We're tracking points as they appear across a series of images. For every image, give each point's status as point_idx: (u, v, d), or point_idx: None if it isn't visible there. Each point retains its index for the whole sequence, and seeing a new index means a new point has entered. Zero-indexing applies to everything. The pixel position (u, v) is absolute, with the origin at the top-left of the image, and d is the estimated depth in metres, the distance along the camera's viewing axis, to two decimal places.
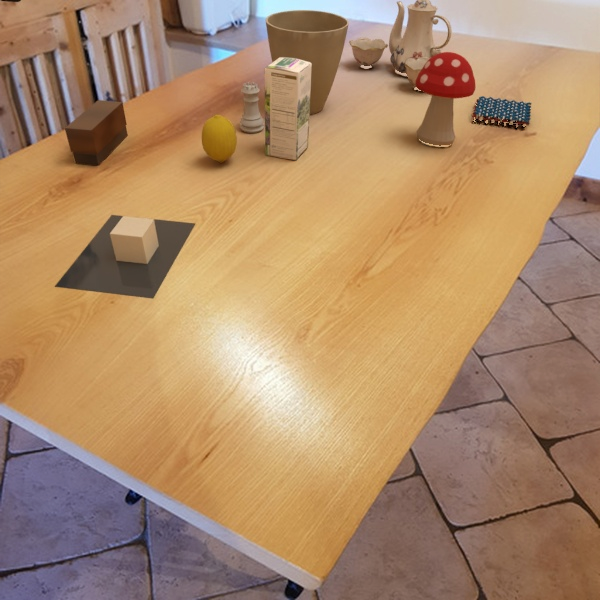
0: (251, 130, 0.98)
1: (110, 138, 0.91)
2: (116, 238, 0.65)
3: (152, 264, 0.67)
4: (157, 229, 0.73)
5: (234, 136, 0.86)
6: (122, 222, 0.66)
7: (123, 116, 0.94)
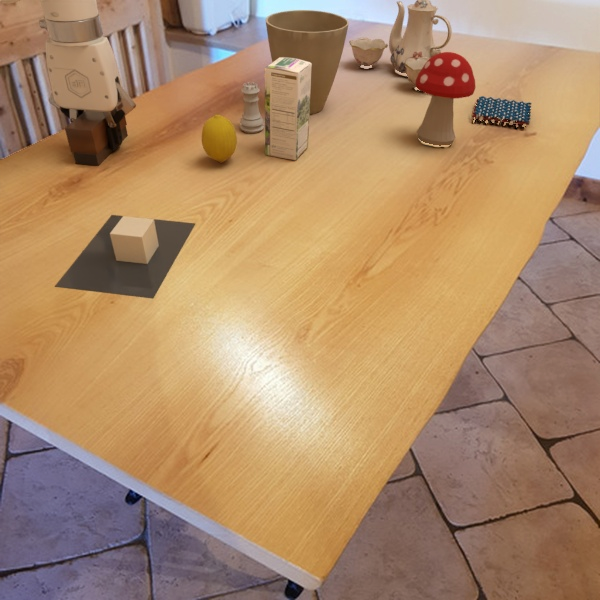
0: (251, 130, 0.98)
1: None
2: (116, 238, 0.65)
3: (152, 264, 0.67)
4: (157, 229, 0.73)
5: (234, 136, 0.86)
6: (122, 222, 0.66)
7: None
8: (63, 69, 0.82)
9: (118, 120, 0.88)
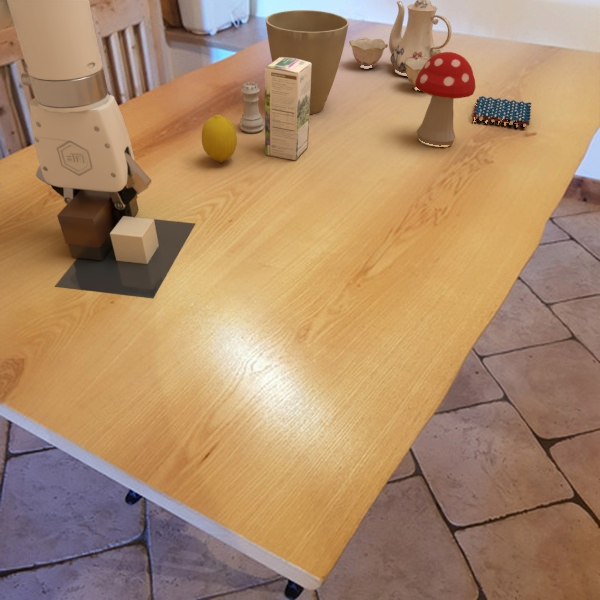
0: (251, 130, 0.98)
1: None
2: (116, 238, 0.65)
3: (152, 264, 0.67)
4: (157, 229, 0.73)
5: (234, 136, 0.86)
6: (122, 222, 0.66)
7: None
8: (54, 140, 0.61)
9: (128, 200, 0.67)
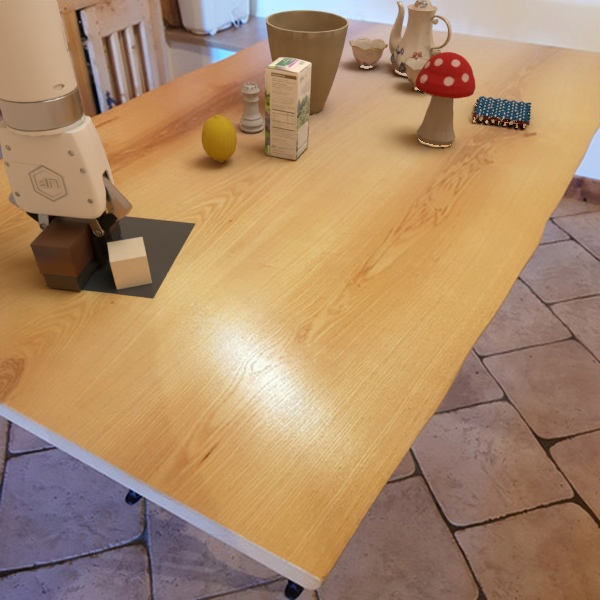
0: (251, 130, 0.98)
1: None
2: (117, 265, 0.61)
3: (152, 264, 0.67)
4: (157, 229, 0.73)
5: (234, 136, 0.86)
6: (112, 248, 0.62)
7: None
8: (26, 164, 0.56)
9: (107, 227, 0.62)
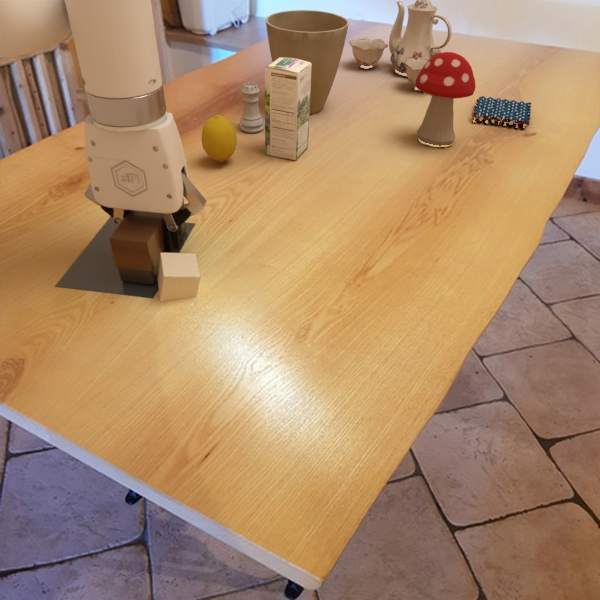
0: (251, 130, 0.98)
1: None
2: (170, 280, 0.60)
3: None
4: None
5: (234, 136, 0.86)
6: (166, 260, 0.61)
7: None
8: (109, 159, 0.57)
9: (181, 222, 0.63)
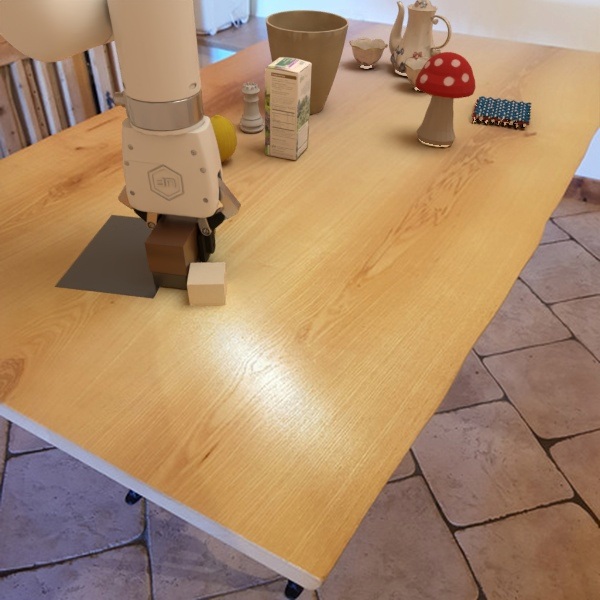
0: (251, 130, 0.98)
1: None
2: (194, 289, 0.60)
3: None
4: None
5: (234, 136, 0.86)
6: (193, 270, 0.61)
7: None
8: (146, 163, 0.57)
9: (215, 226, 0.63)
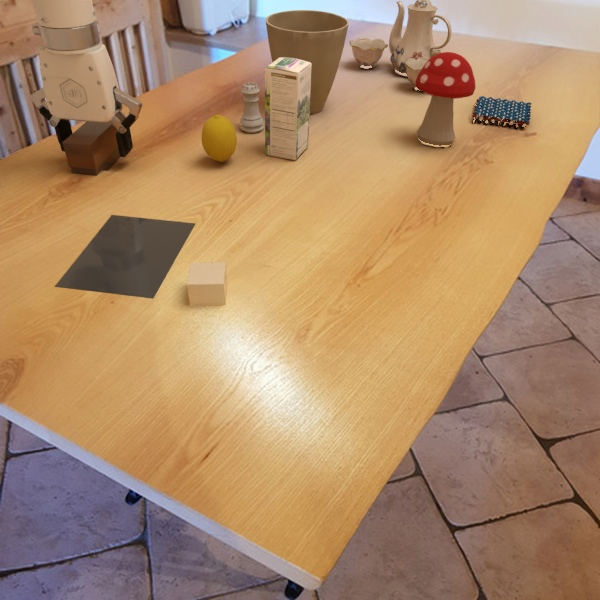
0: (251, 130, 0.98)
1: (110, 152, 0.87)
2: (194, 289, 0.60)
3: (152, 264, 0.67)
4: (157, 229, 0.73)
5: (234, 136, 0.86)
6: (193, 270, 0.61)
7: None
8: (58, 78, 0.78)
9: (126, 122, 0.83)
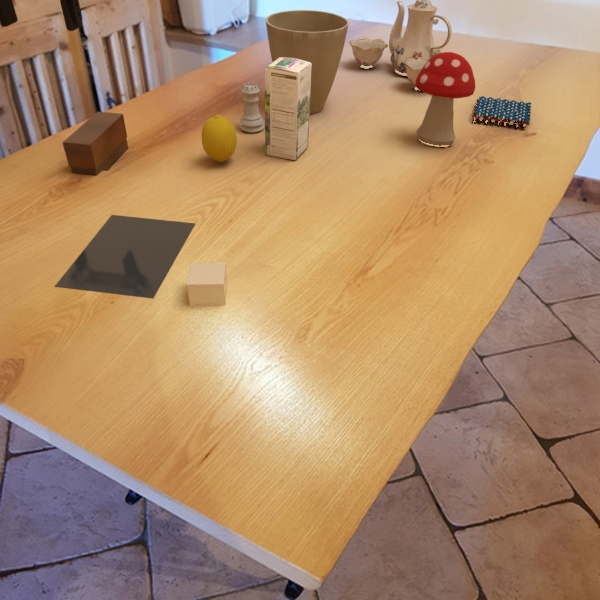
0: (251, 130, 0.98)
1: (110, 152, 0.87)
2: (194, 289, 0.60)
3: (152, 264, 0.67)
4: (157, 229, 0.73)
5: (234, 136, 0.86)
6: (193, 270, 0.61)
7: (124, 128, 0.90)
8: None
9: None
